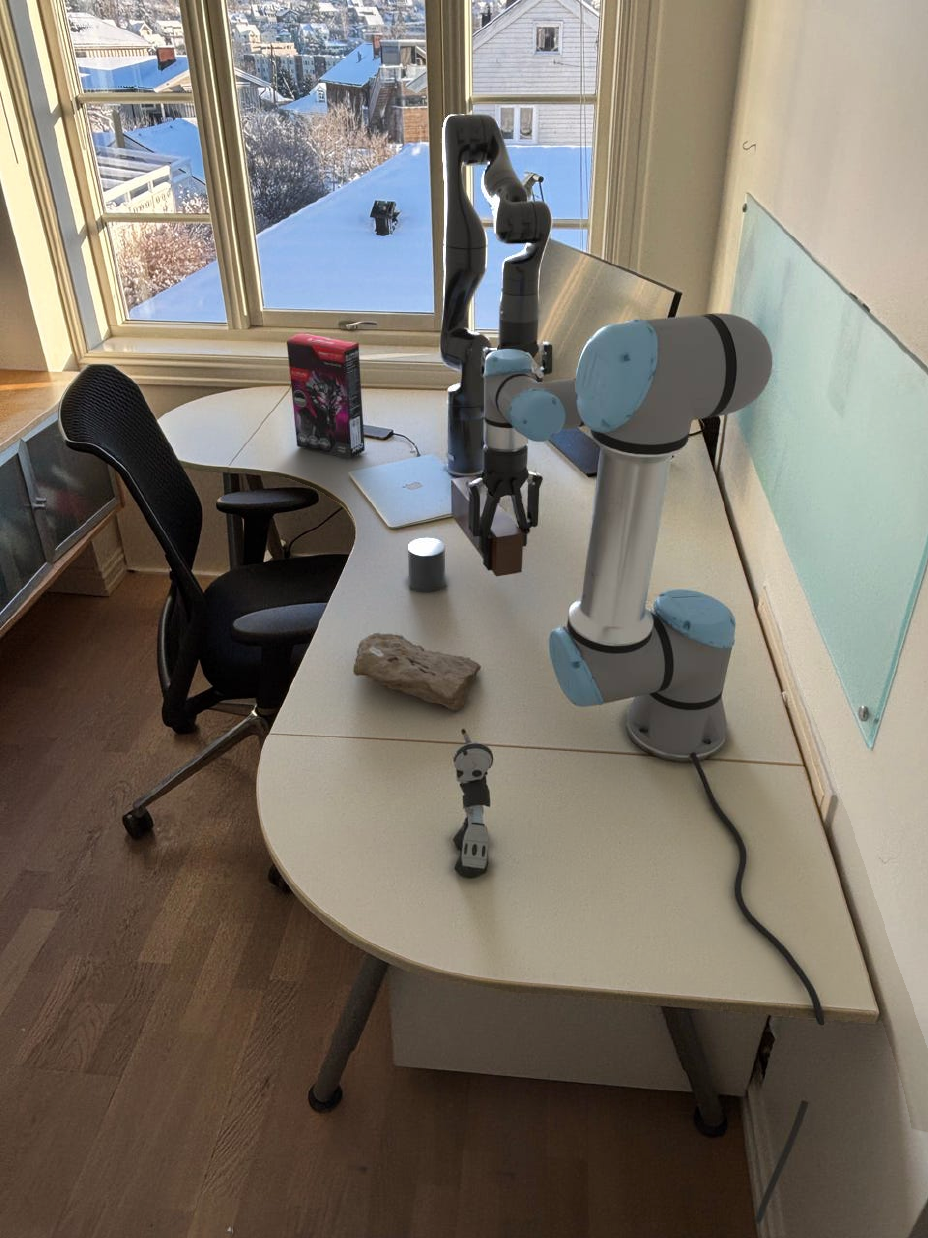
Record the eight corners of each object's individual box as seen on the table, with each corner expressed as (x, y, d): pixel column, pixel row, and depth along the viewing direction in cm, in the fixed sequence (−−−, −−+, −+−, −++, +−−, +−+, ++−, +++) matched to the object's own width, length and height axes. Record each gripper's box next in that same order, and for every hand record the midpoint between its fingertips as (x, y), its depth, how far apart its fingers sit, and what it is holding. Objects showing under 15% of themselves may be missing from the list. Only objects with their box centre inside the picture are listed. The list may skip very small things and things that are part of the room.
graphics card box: (294, 447, 232) (283, 339, 217) (310, 437, 237) (301, 331, 222) (351, 461, 225) (344, 350, 210) (367, 450, 230) (361, 342, 215)
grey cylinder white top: (439, 594, 175) (438, 558, 171) (404, 589, 177) (402, 553, 172) (449, 576, 181) (449, 540, 177) (415, 571, 182) (414, 535, 178)
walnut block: (522, 572, 166) (523, 532, 162) (496, 576, 165) (497, 537, 161) (474, 511, 187) (474, 475, 183) (451, 515, 186) (450, 478, 181)
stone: (328, 683, 147) (335, 650, 144) (363, 649, 160) (369, 618, 158) (451, 727, 143) (460, 694, 141) (476, 689, 157) (485, 658, 154)
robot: (495, 914, 114) (500, 797, 103) (456, 915, 114) (456, 798, 103) (484, 799, 130) (487, 688, 119) (450, 801, 130) (450, 689, 119)
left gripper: (545, 306, 180) (541, 387, 189) (477, 312, 176) (475, 394, 185) (561, 317, 174) (555, 399, 183) (490, 323, 170) (488, 407, 180)
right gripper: (546, 430, 161) (540, 547, 174) (448, 442, 156) (448, 562, 169) (563, 445, 155) (556, 566, 168) (462, 459, 150) (462, 582, 163)
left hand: (515, 397), depth 184 cm, fingers open, 8 cm apart
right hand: (502, 564), depth 168 cm, fingers closed on walnut block, 5 cm apart
